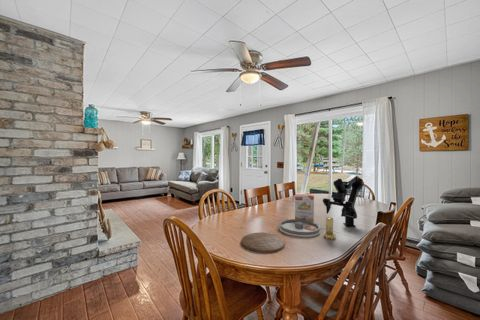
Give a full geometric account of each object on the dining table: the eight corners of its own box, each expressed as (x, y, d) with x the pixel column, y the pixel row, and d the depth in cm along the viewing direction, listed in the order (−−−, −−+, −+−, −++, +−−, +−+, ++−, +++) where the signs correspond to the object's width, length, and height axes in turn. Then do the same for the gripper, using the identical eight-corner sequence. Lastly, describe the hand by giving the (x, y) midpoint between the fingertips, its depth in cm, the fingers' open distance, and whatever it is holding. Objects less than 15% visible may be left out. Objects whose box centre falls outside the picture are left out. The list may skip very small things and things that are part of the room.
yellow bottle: (322, 235, 130) (322, 216, 130) (333, 235, 130) (333, 216, 130) (325, 239, 123) (325, 219, 123) (337, 239, 123) (337, 220, 123)
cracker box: (294, 221, 158) (294, 194, 158) (295, 219, 164) (295, 193, 164) (313, 223, 154) (313, 195, 154) (313, 221, 160) (313, 194, 160)
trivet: (235, 238, 126) (235, 235, 126) (271, 233, 135) (271, 230, 135) (252, 256, 102) (252, 253, 102) (293, 249, 111) (293, 245, 111)
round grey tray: (277, 222, 156) (277, 216, 156) (314, 223, 153) (314, 217, 153) (281, 236, 129) (281, 229, 129) (325, 237, 126) (325, 230, 126)
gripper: (323, 186, 141) (316, 204, 134) (352, 189, 128) (346, 210, 120) (328, 196, 147) (321, 214, 139) (357, 200, 133) (350, 220, 126)
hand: (334, 214), depth 131 cm, fingers open, 9 cm apart
